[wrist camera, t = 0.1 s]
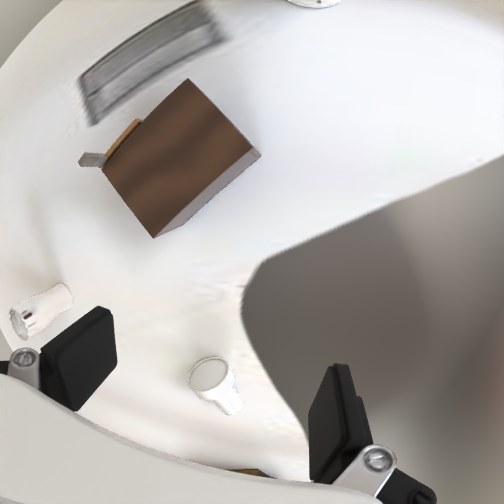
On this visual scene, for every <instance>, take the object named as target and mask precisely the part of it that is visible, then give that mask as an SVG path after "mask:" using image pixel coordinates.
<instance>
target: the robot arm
mask: <svg viewBox="0 0 504 504" xmlns="http://www.w3.org/2000/svg"><path fill="white" fill-rule="evenodd" d="M287 1H289V2H291V3H294V4H296V5H300V6H305V7H312V8H322V7H329V6H333V5H335V4H337V3H339V2H341V1H342V0H287ZM40 349H41V353H40V354H38V352H37V351H35V350H34V349H32V348H20V349H17V350H16V351H14V352H13V353H12V355H11V357H10V361H0V504H436V502H437V501H436V500H437V498H436V495H435V493H434V491H433V490H432V489H430V488H429V487H427V486H425V485H424V484H422V483H420V482H418V481H417V480H415V479H413V478H412V477H410V476H408V475H407V474H405V473H403V472H402V471H400V470H398V469H397V468H395V467H396V464H397V458H396V456H395V454H394V452H393V451H392V450H391V449H389V448H388V447H386V446H383V445H379V444H373V440H372V436H371V431H370V427H369V424H368V419H367V416H366V412H365V408H364V404H363V400H362V398H361V397H360V396H356V392H355V388H354V384H353V380H352V377H351V373H350V369H349V366H348V365H345V364H337V363H335V364H333V366H329V367H328V369H327V371H326V373H325V376H324V378H323V381H322V383H321V385H320V388H319V390H318V392H317V394H316V397H315V399H314V401H313V403H312V406H311V408H310V410H309V414H308V425H309V476H310V480H314V483H310V482H300V481H290V480H281V479H273V478H266V477H260V476H254V475H248V474H242V473H237V472H232V471H227V470H222V469H218V468H214V467H210V466H206V465H202V464H198V463H195V462H191V461H188V460H185V459H181V458H178V457H175V456H172V455H169V454H166V453H163V452H160V451H157V450H155V449H152V448H149V447H147V446H144V445H141V444H139V443H136V442H134V441H132V440H129V439H127V438H125V437H122V436H120V435H118V434H116V433H114V432H111V431H109V430H107V429H105V428H103V427H101V426H99V425H97V424H95V423H93V422H91V421H89V420H87V419H86V418H84V417H82V416H80V415H78V414H76V413H75V412H74V411H76V412H77V411H78V410H79V409H80V408H81V407H82V406H83V405H84V403H85V402H86V401H87V400H88V399H89V398H90V396H91V395H92V394H93V393H94V392H95V391H96V389H97V388H98V387H99V386H100V385H101V384H102V382H103V381H104V380H105V379H106V378H107V377H108V375H109V374H110V373H111V372H112V371H113V370H114V369H115V367H116V365H117V353H116V344H115V334H114V321H113V315H112V314H111V312H110V310H109V309H106V308H103V307H101V306H97V307H95V308H94V309H92V310H91V311H90V312H88V313H87V314H85V315H84V316H83V317H81V318H80V319H79V320H77V321H76V322H75V323H73V324H72V325H71V326H69V327H68V328H67V329H65V330H64V331H63V332H61V333H60V334H59V335H57V336H56V337H55V338H53V339H52V340H51V341H50V342H48V343H47V344H46V345H44V346H43V347H42V348H40Z"/></svg>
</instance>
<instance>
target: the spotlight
mask: <svg viewBox="0 0 504 504" xmlns="http://www.w3.org/2000/svg"><path fill="white" fill-rule="evenodd" d="M187 383H188V386H189V387H190V389H191V390H192V391H193V392H194V393H195V394H196V395H197V396H198V397H199V398H200V399H203V400H206V401H208V400H213V402H214V403H215V404H216V405H217V406H218V407H219V408H220V409H221V411H222V412H223V413H224V414H226V415H234V414H237V413H238V412H240V411H241V410H242V408H243V406H244V401H243V399H242V397H241V396H240V395H239V393H238V392H237V391H236V389H235V388H234V387H233V385H234V383H235V374H234V371H233V369H232V368H231V366H230V365H229V363H228V362H227V361H226V360H225V359H223V358H222V357H210V358H206V359H204V360H202V361H200V362H199V363H197V364H196V365H195V366H194V367H193V368H192V369H191V371H190V372H189V374H188V378H187Z"/></svg>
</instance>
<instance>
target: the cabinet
mask: <svg viewBox="0 0 504 504" xmlns="http://www.w3.org/2000/svg"><path fill="white" fill-rule="evenodd" d="M260 157H261V155H260V153H259V152H258V151H257V150H256V149H255V148H254V147H253V145H252V144H251V143H250V142H249V141H248V140H247V139H246V138H245V136H244V135H243V134H242V133H241V132H240V131H239V130H238V129H237V128H236V127H235V125H234V124H233V123H232V122H231V121H230V120H229V119H228V118H227V117H226V116H225V115H224V114H223V113H222V112H221V110H220V109H219V108H218V107H217V106H216V105H215V104H214V103H213V102H212V101H211V100H210V99H209V98H208V97H207V96H206V95H205V94H204V93H203V92H202V91H201V90H200V89H199V88H198V87H197V86H196V85H195V84H194V83H193V82H192V81H191V80H190V79H188V78H187V79H186V80H185V81H184V82H183V83H182V84H181V85H179V86H178V87H177V88H176V89H175V90H174V91H173V92H172V93H171V94H170V95H169V96H167V97H166V98H165V99H164V100H163V101H162V102H161V103H160V104H159V105H158V106H157V107H156V108H155V109H154V110H153V111H152V112H151V113H150V114H149V115H148V116H147V117H146V118H145V119H144V120H143V121H142V122H141V124H140V125H139V126H138V127H137V128H136V129H135V130H134V131H133V132H132V133H131V134H130V136H129V137H128V138H127V139H126V140H125V141H124V142H123V144H122V145H121V146H120V147H119V148H118V149H117V151H116V152H115V153H114V154H113V155H112V157H111V158H110V159H109V160H108V162H107V163H106V164H105V165H104V167H103V168H102V169H101V170H102V171H103V173H104V174H105V176H106V177H107V178H108V180H109V181H110V183H111V184H112V185H113V187H114V188H115V189H116V191H117V192H118V193H119V195H120V196H121V197H122V199H123V200H124V202H125V203H126V204H127V205H128V207H129V208H130V209H131V211H132V212H133V213H134V215H135V216H136V217H137V219H138V220H139V221H140V222H141V224H142V225H143V226H144V228H145V229H146V230H147V231H148V233H149V234H150V235H151V236H152V238H156V237H158V236H160V235H162V234H164V233H167V232H169V231H171V230H173V229H176V228H178V227H180V226H182V225H183V224H184V223H186V222H187V221H188V220H189V219H190V218H191V217H192V216H193V215H194V214H195V213H196V212H197V211H199V210H200V209H201V208H202V207H203V206H204V205H205V204H206V203H207V202H209V201H210V200H211V199H212V198H213V197H214V196H215V195H216V194H218V193H219V192H220V191H221V190H222V189H223V188H224V187H226V186H227V185H228V184H229V183H230V182H231V181H232V180H234V179H235V178H236V177H237V176H238V175H239V174H241V173H242V172H243V171H244V170H245V169H247V168H248V167H249V166H250V165H251V164H253V163H254V162H255V161H256V160H257V159H259V158H260Z"/></svg>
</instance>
